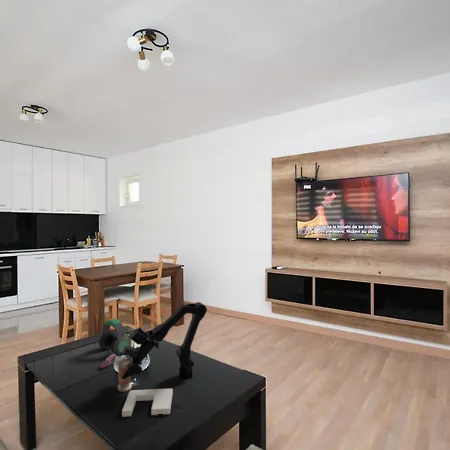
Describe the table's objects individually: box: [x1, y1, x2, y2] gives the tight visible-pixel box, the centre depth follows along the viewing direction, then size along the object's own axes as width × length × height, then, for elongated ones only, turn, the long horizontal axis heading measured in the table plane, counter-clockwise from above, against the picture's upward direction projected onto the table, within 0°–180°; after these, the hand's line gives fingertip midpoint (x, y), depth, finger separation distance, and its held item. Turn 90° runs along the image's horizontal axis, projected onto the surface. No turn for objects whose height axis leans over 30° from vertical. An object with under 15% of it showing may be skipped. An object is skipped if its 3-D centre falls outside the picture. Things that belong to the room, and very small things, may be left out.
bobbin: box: [116, 356, 133, 393], centre depth 158 cm, size 7×7×14 cm
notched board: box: [121, 388, 174, 418], centre depth 145 cm, size 20×16×2 cm
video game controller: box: [99, 353, 118, 369], centre depth 184 cm, size 10×5×7 cm, turn 169°
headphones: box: [97, 318, 130, 355], centre depth 202 cm, size 19×11×20 cm, turn 55°
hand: (121, 375), depth 158 cm, fingers closed on bobbin, 6 cm apart
